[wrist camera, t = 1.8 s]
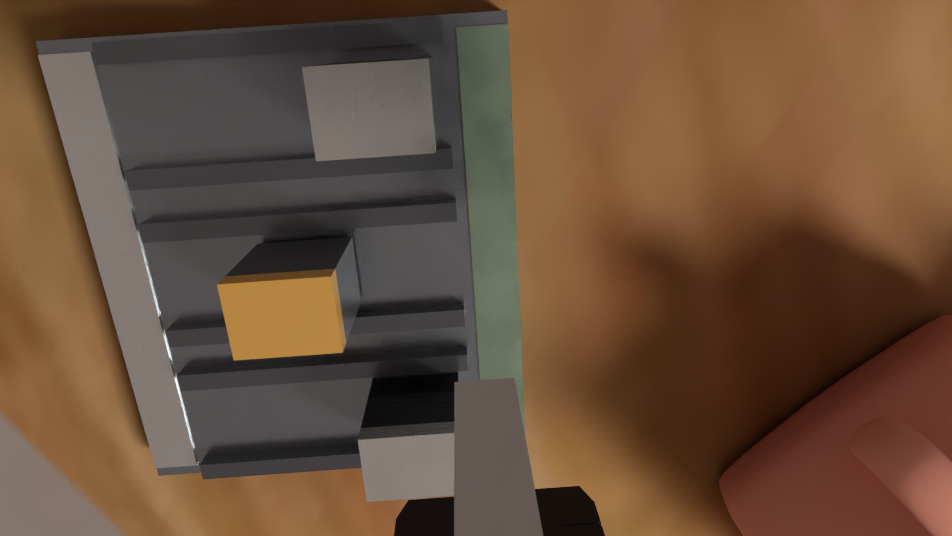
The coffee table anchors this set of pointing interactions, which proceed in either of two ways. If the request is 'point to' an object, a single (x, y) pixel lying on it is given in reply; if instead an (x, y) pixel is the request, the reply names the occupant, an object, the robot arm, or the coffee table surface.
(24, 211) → the coffee table surface
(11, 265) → the coffee table surface
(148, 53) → the panel
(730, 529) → the coffee table surface
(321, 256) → the breaker
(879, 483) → the teapot
